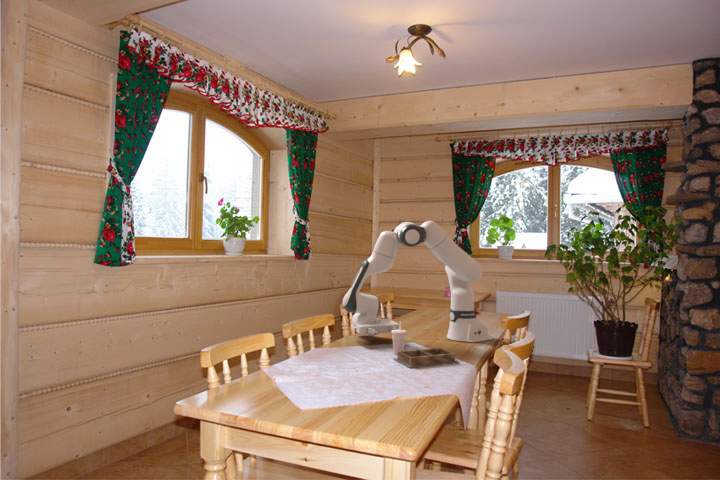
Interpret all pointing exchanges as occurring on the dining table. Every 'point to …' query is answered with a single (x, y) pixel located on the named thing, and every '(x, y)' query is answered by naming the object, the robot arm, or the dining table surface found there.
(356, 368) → the dining table surface
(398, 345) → the smoothie
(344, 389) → the dining table surface
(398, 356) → the tray
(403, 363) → the mat
